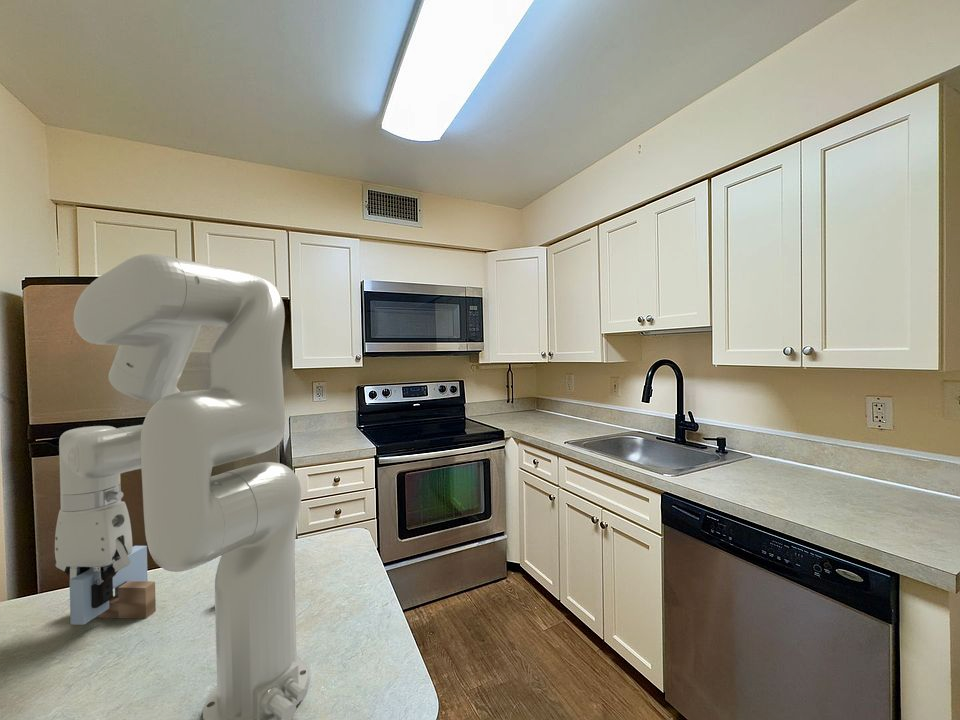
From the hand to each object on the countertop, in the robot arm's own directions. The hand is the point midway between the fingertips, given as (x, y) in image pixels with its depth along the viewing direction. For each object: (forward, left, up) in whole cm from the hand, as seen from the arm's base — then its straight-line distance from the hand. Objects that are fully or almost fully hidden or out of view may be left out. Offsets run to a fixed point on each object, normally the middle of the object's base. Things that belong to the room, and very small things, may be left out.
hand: (94, 602), depth 69 cm
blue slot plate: (+2, -3, -2) cm, 4 cm away
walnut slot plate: (+2, -3, -4) cm, 6 cm away
